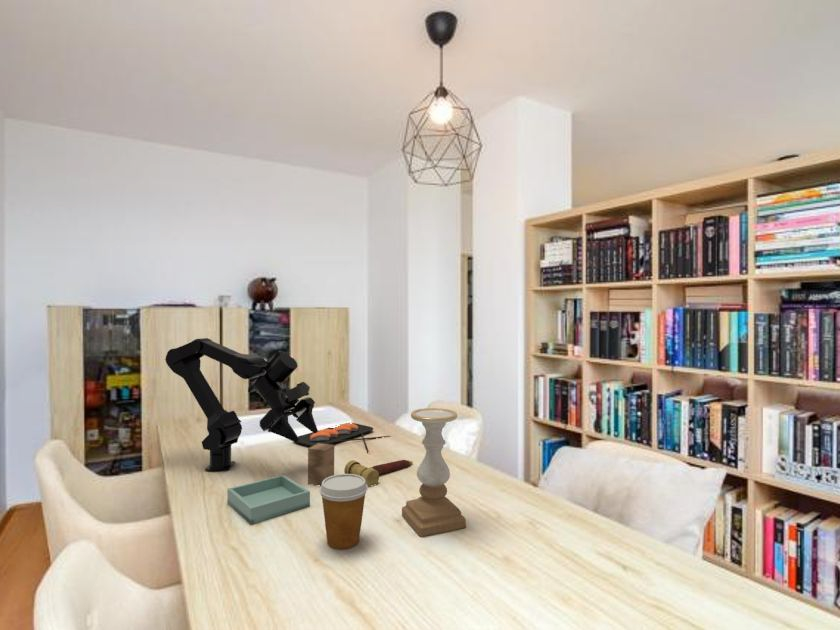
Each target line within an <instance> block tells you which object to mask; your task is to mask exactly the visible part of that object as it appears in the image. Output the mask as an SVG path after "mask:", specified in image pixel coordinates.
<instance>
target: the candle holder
mask: <svg viewBox="0 0 840 630" xmlns="http://www.w3.org/2000/svg"><path fill="white" fill-rule="evenodd" d="M410 418H411V419H412V420H414V421H416V422H419V423H420V422H421V425H422V426H423V428H424V429H425V436H424V438H423V439H422V441H421V444H422V445H423V447H424V450H425V455H424V457H423V459H422V461H421V462H420V463H419V466H418V467H417V470H416V477H417V479H418V481H419V483H422V484H421V485H420V487H419V494H420V497H419V496H418V498H416V499H410V500H407V501H406V502H405V506H402V507H401V516H402V518H403V519H404V520H405V522H406V523H407V524H408V525H409V526H410V527H411V529H412V530H413V531H414V532H415V534H417V535H418V537H421V538H423V537H424V538H425V537H428V536H434V535H439V534H443V533H448V532H453V531H457V530H458V531H459V530H463V529H465V528H467V520H466V518H465V516H463V515H462V511H461V510H460V509H459V507H457V505H456V504H454V503H453V502H452V501H451V500H450V498H448V497H446V495H447V493H448V489H447V486H446V485H445V484H446V483H447V482H448V481H449V479H450V477H451V471H450V468H449V466H448V464H447V462H446V461H445V459H444V457H443V454H442V450H443V448H444V446H445V445H446V442H447V441H446V440H445V439H444V437H443V429H444V428H445V426H446V424H447V423H451V422H455V421H456V420H457V418H458V413H457V412H456V411H454V410H451V409H448V408H441V407H440V408H438V407H437V408H436V407H427V408H419V409H415V410H412V411H411V413H410Z"/></svg>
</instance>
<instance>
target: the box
mask: <svg viewBox="0 0 840 630" xmlns="http://www.w3.org/2000/svg"><path fill="white" fill-rule="evenodd" d="M226 501H227V504H228V506H229V507H231V508H232V509H233V510H234V511H235V512H236V513H237V514H238V515H239V516H240V517H242V518H243V520H245V521H246V522H247V523H248V524H249V525H254V524H258V523H261V522H264V521H267V520H269V519H273V518H277V517H280V516H283V515H287V514H289V513H292V512H295V511H298V510H302V509H305V508H309V507H311V491H310V490H308V489H307V488H305V487H304V486H302V485H301V484H299V483H297V482H296V481H294V480H293V479H291V478H289V477H288V476H286V475H284V474H280V475H278V476H273V477H269V478H268V477H267V478H264V479H260V480H257V481H252V482H249V483H245V484H240V485H238V486H233V487H230V488H227V500H226Z"/></svg>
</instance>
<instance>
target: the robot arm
mask: <svg viewBox="0 0 840 630" xmlns="http://www.w3.org/2000/svg"><path fill="white" fill-rule="evenodd" d="M204 356H205V357H207V358H209V359H212V360H214V361H217V362H219V363H220V364H222V365H223V364H224V365H225V366H228V367H229V368H230V369H231V370H232V372H233V373H234V374H235V375H237V376H239V378H241V379H242V380H249V379H254V378H255V380H254V381H250V382H249V383H248V389H247V392H248V393H253V392H257V393H258V394H259V395H260V397H261V398H262V399H263V400H264V402H265V403H263V406H264V407H265V408H268V407H269V408H270V409H269V410H268V411H267V412H266V413H265V415H264V416H262V418H261V419H260V420H259V427H260V429H261V430H262V431H263V432H266V431H267V432H268V433H273V434H275V435H278V436H280V437H283V438H285V439H286V440H287V439H288V440H289V441H291V442H294V443H295V444H296V443H298V441H299V438H298V436H299V435H298V434H297V433H296V431H295V430H294V429H293V426H291V423H290V422H289V417H290V416H293V417H294V418H296V420H295V421H296V422H298V423H300V425H302V426H304V427H305V428H306V429H308V431H310V432H311V433H312V432H313V433H317V432H318V431H319V430H318V427H317V425H316V421H315V418H314V416H313V409H314V407H315V404H316V402H315V400H314V399H313V398H312V397H309V395H310V388H311V387H310V385H309V384H307V383H306V382H305V381H301V382H300V383H297V384H296V386H294V387H292V388H290V389H289V388H288V387H285V388H283V387H282V385H281V384H280V383H284V382H286V380H288V378H289V377H290V376H291V375H292V374H293V373H294V371H296V369H297V368H298V366H299V365H298V361H296V359H295V358H294V357H291V356H290V355H289V354H286V353H284V351H283V350H281V351H277V352H276V353H275V354H274V356H273V357H272V358H271V360H269V361H268V360H266V359H265V358H264V357H262V356H260V355H254V354H247V353H240V352H238V351H235V350H233V349H231V348H229V347H227V346H224V345H222V344H220V343H218V342H215V341H213V340H212V339H211V338H208V337H207V338H206V337H203V338H195V339H193V340H192V341H191V342H188V343H186V344H185V343H184V344H182V345H180V346H178V347H176V348H170V349H169V350H168V351H167V352H166V356H165V359H164V360H165V363H166V365H167V367H168V368H169V369H170V370H171V371H172V372H173V373H174V374H175V375H178V377H181V378H182V379H183V380H184V382H185V383H186V385H187V387H188V388H189V390H190V391H191V393H192V395H193V397H194V399H195V400H196V402H197V404H198V405H199V407H200V408H201V410H202V412H203V414H204V416H205V417H206V419H207V421H206V430H207V433H208V435H207V436H206V437H205V438H204V439H203V440H201V445H202V448H203V450H206V451H209V464H208V466H207V467H206V468H204V469H205V470H204V471H205V472H211V471H213V472H218V471H221V472H222V471H230V469H231V468H232V467H233V466H234V465H235V464H236V460H235V461H234V460H232V445H234V444H237V443H238V441H239V437H240V436H241V434H242V430H243V425H242V424H241V423H242V420H241V419H239V417H238V415H237V413H236V411H235V410H231V411H227V410H226V409H224V407H223V406H222V404H221V403H220V401H219V399H218V397H217V395H216V394H215V392H214V391H213V389H212V387H211V386H210V383H209V382H208V381H207V379H206V377H205V376H204V374H203V372H202V370H201V362H202V361H201V358H203V357H204ZM305 396H306V397H305ZM307 396H308V397H307ZM303 397H304V398H303ZM300 398H302V399H300Z"/></svg>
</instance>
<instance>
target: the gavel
mask: <svg viewBox="0 0 840 630" xmlns="http://www.w3.org/2000/svg"><path fill="white" fill-rule="evenodd" d="M412 465H413V461H412V460H407V459H401V460H396V461H391V462H386V463H382V464H376V465H373V466H370V467H367V466H365V465H363V464H361V463H360V462H359V461H356V460H349V461H348V462H347V463H346V465H345V466H344V471H343V472H344V474H355V475H359V476H362V477H363V478H364V479H365V481H366V484H367V486H370V487H372V486H371V485H373V486H375V485H374V484H376V485H378V482H379V481H380V480H379V479H380V475H383V474H388V473H392V472H395V471H399V470H403V468H404V469H407V468H408V467H410V466H412Z"/></svg>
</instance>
